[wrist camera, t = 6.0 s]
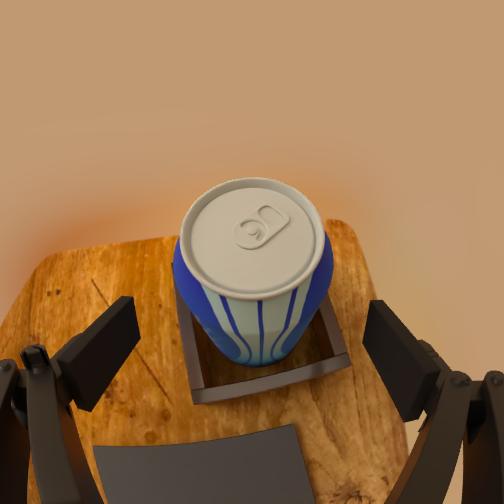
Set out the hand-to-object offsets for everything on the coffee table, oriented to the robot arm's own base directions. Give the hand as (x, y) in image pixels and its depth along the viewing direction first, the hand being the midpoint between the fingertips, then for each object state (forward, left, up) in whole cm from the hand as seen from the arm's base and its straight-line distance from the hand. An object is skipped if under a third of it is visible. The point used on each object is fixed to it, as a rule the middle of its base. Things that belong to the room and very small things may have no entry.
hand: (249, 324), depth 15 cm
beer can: (+3, -1, -12) cm, 12 cm away
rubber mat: (-17, +8, -12) cm, 22 cm away
